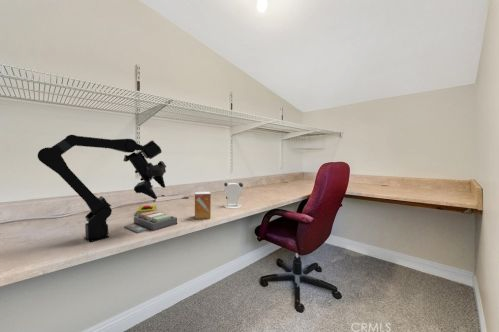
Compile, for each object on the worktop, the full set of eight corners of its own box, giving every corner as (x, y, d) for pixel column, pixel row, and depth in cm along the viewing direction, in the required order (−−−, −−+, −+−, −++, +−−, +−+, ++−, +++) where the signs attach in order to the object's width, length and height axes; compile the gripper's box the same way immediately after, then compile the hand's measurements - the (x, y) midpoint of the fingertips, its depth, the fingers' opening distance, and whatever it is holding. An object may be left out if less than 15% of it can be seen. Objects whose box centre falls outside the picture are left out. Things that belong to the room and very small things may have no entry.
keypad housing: (153, 230, 96) (153, 224, 96) (133, 223, 106) (133, 217, 106) (177, 223, 106) (177, 217, 106) (157, 217, 116) (157, 211, 116)
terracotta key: (144, 219, 105) (144, 215, 105) (140, 217, 107) (140, 213, 107) (158, 216, 111) (158, 212, 111) (153, 214, 113) (153, 210, 113)
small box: (194, 219, 113) (194, 194, 112) (195, 215, 119) (194, 191, 119) (210, 218, 115) (210, 193, 114) (210, 215, 121) (210, 191, 120)
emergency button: (135, 209, 116) (140, 203, 131) (135, 217, 117) (140, 210, 131) (154, 208, 119) (157, 202, 133) (154, 216, 119) (157, 209, 134)
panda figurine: (241, 204, 148) (241, 181, 147) (243, 208, 137) (243, 184, 136) (223, 204, 146) (223, 181, 145) (224, 208, 135) (224, 184, 134)
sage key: (157, 223, 99) (157, 219, 99) (152, 222, 101) (152, 217, 101) (171, 220, 104) (171, 215, 104) (166, 218, 107) (166, 214, 106)
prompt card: (137, 233, 93) (137, 231, 93) (124, 227, 100) (124, 225, 100) (147, 230, 96) (147, 228, 96) (133, 225, 103) (133, 223, 103)
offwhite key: (150, 221, 102) (150, 217, 102) (146, 220, 104) (146, 215, 104) (164, 218, 107) (164, 213, 107) (159, 216, 110) (159, 212, 110)
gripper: (146, 169, 87) (167, 200, 94) (165, 150, 104) (181, 177, 110) (123, 177, 90) (145, 207, 96) (145, 158, 106) (162, 184, 113)
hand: (160, 192), depth 104 cm, fingers open, 9 cm apart
